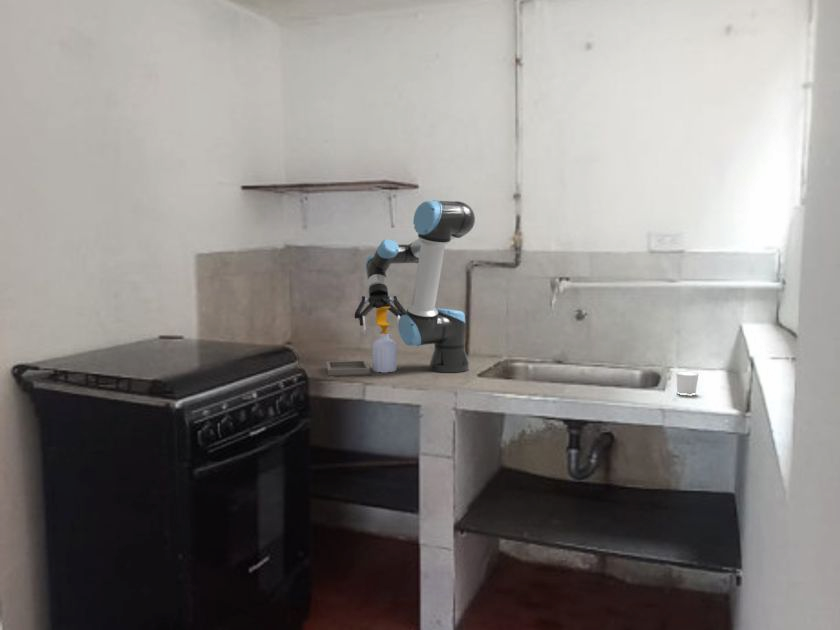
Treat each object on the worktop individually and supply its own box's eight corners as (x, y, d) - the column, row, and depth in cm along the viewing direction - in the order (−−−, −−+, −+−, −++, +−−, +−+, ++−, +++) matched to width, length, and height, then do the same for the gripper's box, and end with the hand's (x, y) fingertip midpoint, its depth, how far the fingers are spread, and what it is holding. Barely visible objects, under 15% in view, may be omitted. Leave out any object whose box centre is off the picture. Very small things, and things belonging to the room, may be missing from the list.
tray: (365, 367, 277) (365, 360, 277) (369, 375, 262) (369, 368, 261) (326, 368, 275) (326, 361, 274) (328, 376, 259) (328, 369, 259)
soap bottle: (379, 373, 264) (379, 308, 261) (368, 369, 272) (368, 305, 269) (400, 371, 269) (400, 306, 266) (389, 367, 277) (389, 304, 274)
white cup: (699, 397, 230) (700, 375, 229) (677, 396, 231) (678, 374, 230) (694, 392, 237) (696, 371, 236) (673, 391, 238) (674, 370, 237)
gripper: (407, 294, 289) (413, 336, 276) (346, 294, 284) (349, 337, 272) (409, 282, 283) (416, 324, 270) (346, 282, 279) (350, 325, 266)
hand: (382, 331), depth 271 cm, fingers open, 13 cm apart
